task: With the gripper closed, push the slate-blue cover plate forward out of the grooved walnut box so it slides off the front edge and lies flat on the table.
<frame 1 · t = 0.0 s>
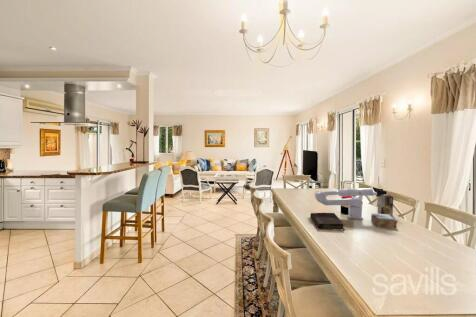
hand: (384, 191, 183), 22 cm above the table, tool horizontal, fingers open, 7 cm apart
wooden box: (383, 224, 172), on the table
coffee box: (384, 215, 196), on the table
cover plate: (383, 218, 173), point 4 cm above the table, touching wooden box
diary: (326, 224, 174), on the table
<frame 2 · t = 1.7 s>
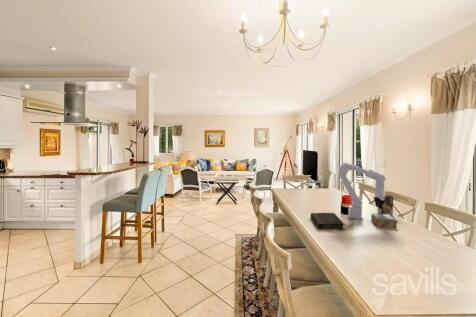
hand: (378, 207, 183), 9 cm above the table, tool pointing down, fingers open, 6 cm apart
nothing on the table moved.
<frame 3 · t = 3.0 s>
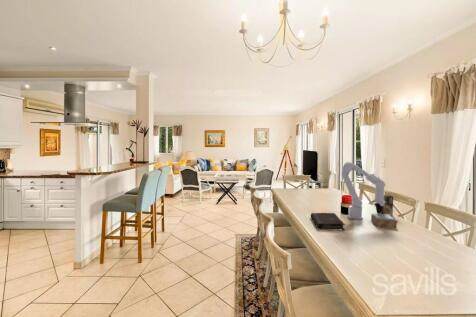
hand: (378, 213, 183), 5 cm above the table, tool pointing down, fingers closed
nothing on the table moved.
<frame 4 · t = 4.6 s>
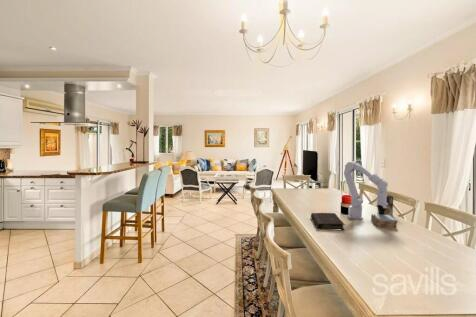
hand: (381, 215, 177), 5 cm above the table, tool pointing down, fingers closed
cover plate: (384, 218, 171), point 4 cm above the table, touching gripper, wooden box
everything else where it was.
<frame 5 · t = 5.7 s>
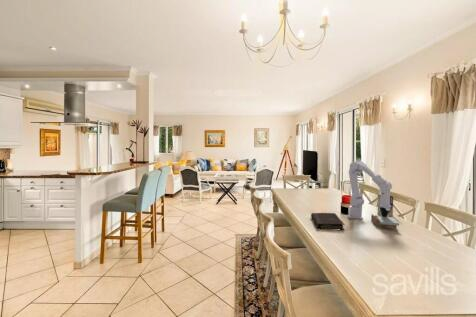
hand: (384, 218, 171), 5 cm above the table, tool pointing down, fingers closed
cover plate: (387, 221, 165), point 4 cm above the table, touching gripper
everything else where it was.
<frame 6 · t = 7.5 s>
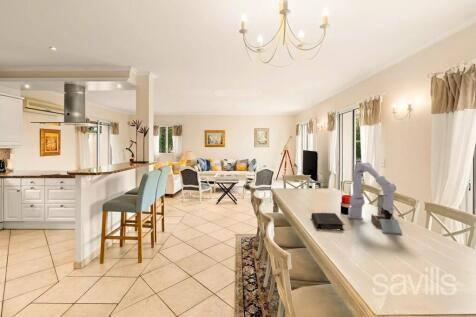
hand: (387, 221, 164), 5 cm above the table, tool pointing down, fingers closed
cover plate: (390, 227, 159), point 3 cm above the table, tilted 30°, touching gripper
everything else where it was.
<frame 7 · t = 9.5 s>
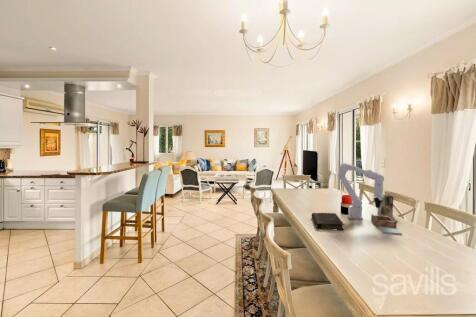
hand: (377, 207, 183), 9 cm above the table, tool pointing down, fingers closed
cover plate: (389, 231, 159), on the table
everything else where it was.
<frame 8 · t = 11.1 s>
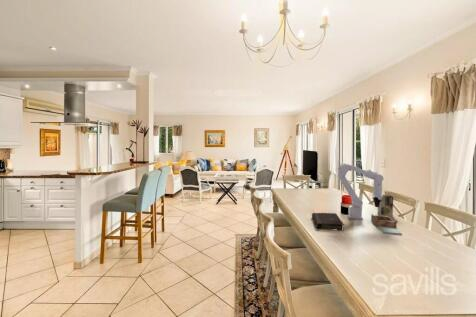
hand: (376, 206, 185), 9 cm above the table, tool pointing down, fingers closed
nothing on the table moved.
at the end: cover plate inside the target area (4.0 cm from its centre), on the table; cover plate tilted 0°; cover plate touching table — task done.
